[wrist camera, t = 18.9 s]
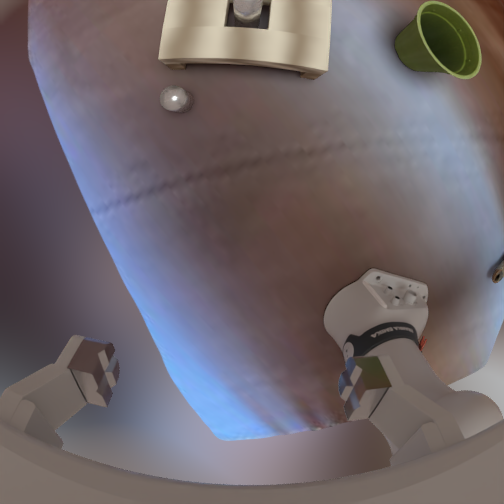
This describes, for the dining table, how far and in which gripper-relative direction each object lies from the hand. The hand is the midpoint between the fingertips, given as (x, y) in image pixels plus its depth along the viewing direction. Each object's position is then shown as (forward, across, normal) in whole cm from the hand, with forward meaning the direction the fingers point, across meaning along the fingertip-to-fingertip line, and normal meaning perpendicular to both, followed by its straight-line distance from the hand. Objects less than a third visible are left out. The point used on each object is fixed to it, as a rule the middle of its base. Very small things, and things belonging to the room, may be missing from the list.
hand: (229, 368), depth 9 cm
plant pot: (+34, -25, -26) cm, 50 cm away
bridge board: (+34, +1, -23) cm, 41 cm away
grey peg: (+34, +1, -23) cm, 41 cm away
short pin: (+34, +9, -11) cm, 37 cm away
